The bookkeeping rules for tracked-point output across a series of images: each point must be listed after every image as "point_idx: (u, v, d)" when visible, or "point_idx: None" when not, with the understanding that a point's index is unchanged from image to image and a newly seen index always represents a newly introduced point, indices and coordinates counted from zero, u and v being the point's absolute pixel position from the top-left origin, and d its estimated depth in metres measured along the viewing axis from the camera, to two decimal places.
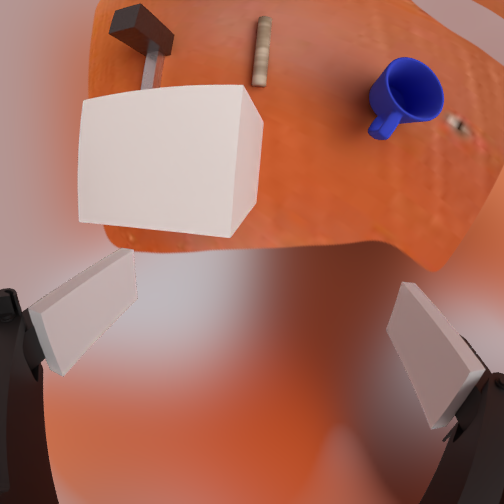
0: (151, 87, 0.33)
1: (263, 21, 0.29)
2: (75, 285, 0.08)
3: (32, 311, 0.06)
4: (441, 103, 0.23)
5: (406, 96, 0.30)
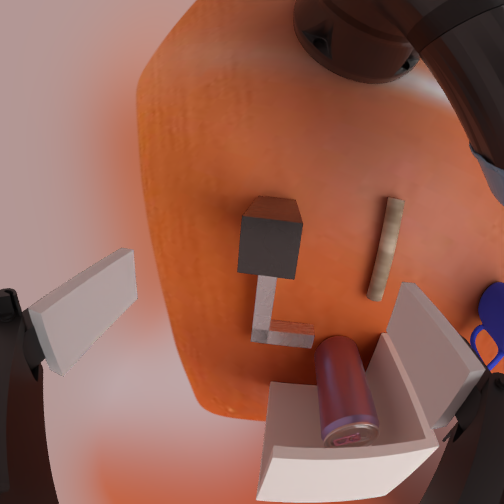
0: (272, 296, 0.30)
1: None
2: (75, 285, 0.08)
3: (32, 311, 0.06)
4: None
5: None
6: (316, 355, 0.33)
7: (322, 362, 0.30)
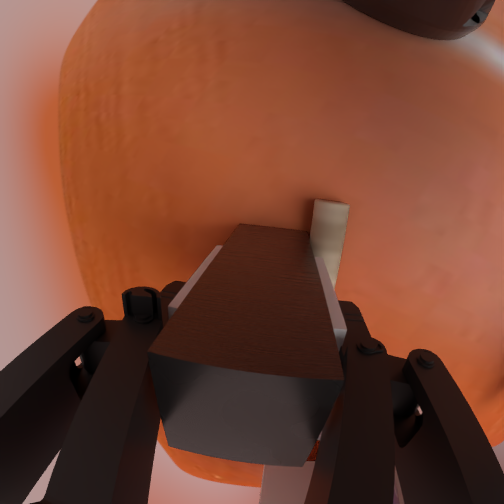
0: None
1: None
2: None
3: (175, 308, 0.08)
4: None
5: None
6: None
7: None
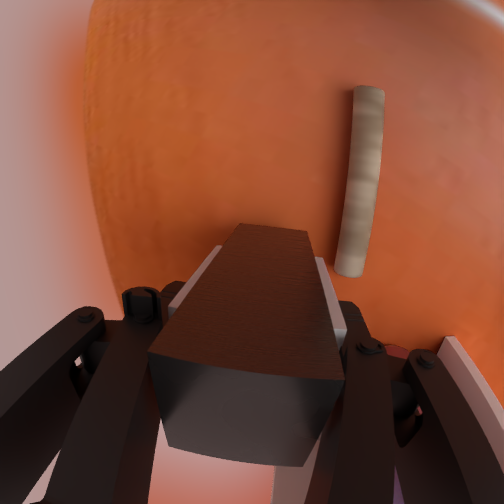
0: None
1: (357, 101, 0.14)
2: None
3: (175, 308, 0.08)
4: None
5: None
6: None
7: None
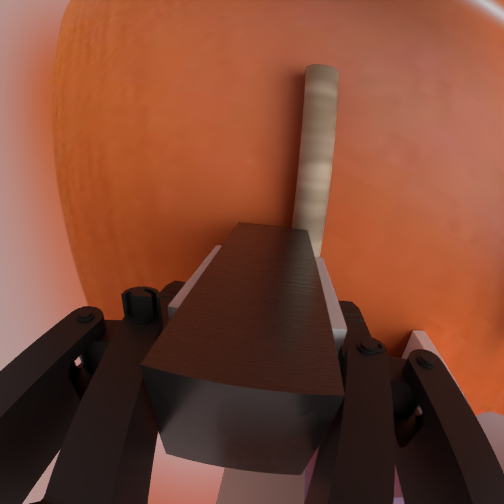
0: None
1: (323, 81, 0.13)
2: None
3: (175, 308, 0.08)
4: None
5: None
6: None
7: None
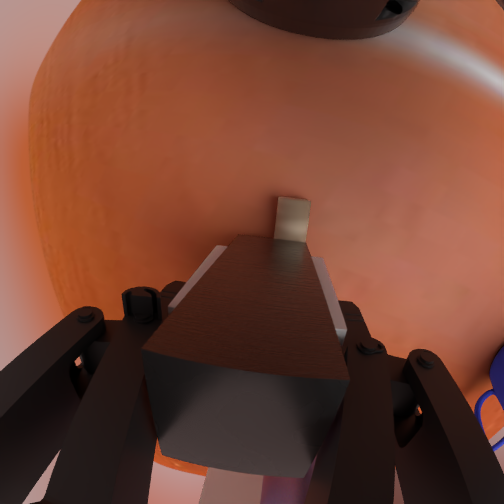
0: None
1: (307, 219, 0.16)
2: None
3: None
4: None
5: None
6: None
7: None
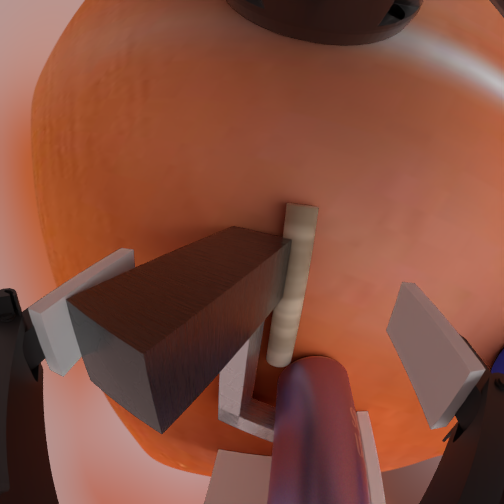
0: (241, 381, 0.18)
1: (304, 226, 0.16)
2: (75, 285, 0.08)
3: (32, 311, 0.06)
4: None
5: None
6: (278, 386, 0.20)
7: (284, 402, 0.17)
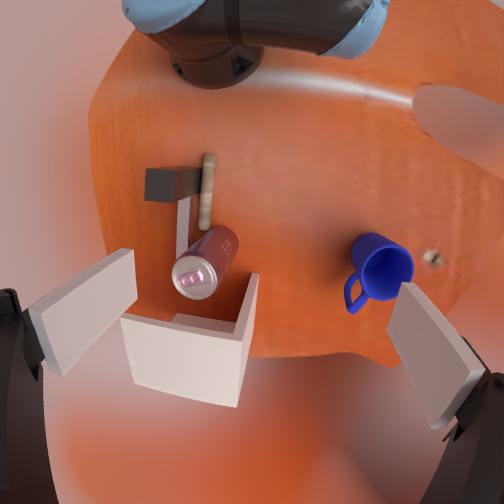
0: (187, 233, 0.43)
1: (209, 161, 0.40)
2: (75, 285, 0.08)
3: (32, 311, 0.06)
4: (408, 281, 0.34)
5: (385, 247, 0.41)
6: None
7: None
